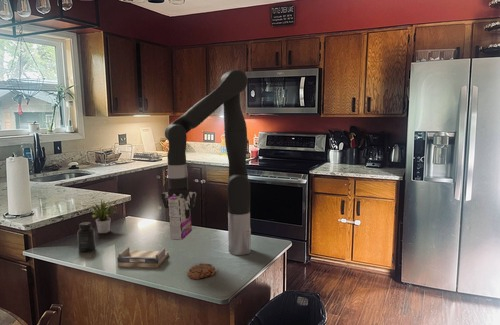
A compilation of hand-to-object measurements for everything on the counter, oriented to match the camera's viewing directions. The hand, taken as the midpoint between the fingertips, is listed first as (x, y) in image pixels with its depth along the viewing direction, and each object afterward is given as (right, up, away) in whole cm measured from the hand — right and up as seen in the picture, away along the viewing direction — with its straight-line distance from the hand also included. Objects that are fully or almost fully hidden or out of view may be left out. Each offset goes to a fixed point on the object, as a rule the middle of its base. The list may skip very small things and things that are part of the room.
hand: (180, 218), depth 150 cm
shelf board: (-15, -17, +3) cm, 23 cm away
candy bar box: (0, -7, +1) cm, 7 cm away
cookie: (+10, -19, -10) cm, 24 cm away
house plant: (-46, -13, +39) cm, 61 cm away
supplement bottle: (-43, -16, +15) cm, 48 cm away
